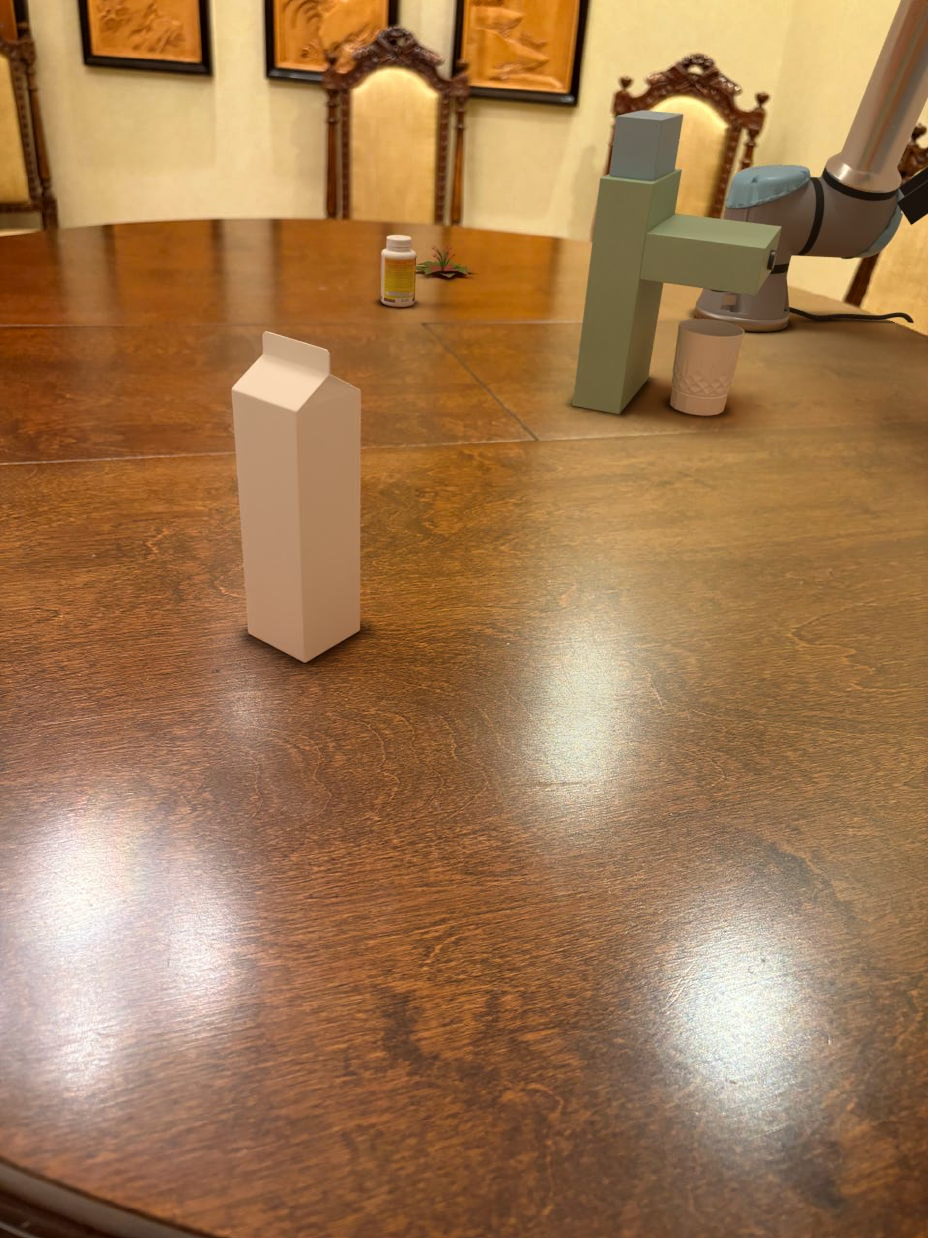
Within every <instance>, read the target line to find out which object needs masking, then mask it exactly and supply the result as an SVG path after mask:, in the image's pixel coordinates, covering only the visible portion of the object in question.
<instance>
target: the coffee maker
mask: <svg viewBox="0 0 928 1238" xmlns="http://www.w3.org/2000/svg"><path fill="white" fill-rule="evenodd" d="M615 118H616V119H615V125H614V126H615V127H614V134H613V136H614V137H613V143H612V149H611V150H612V152H611V159H610V167H609V174H606V175H604V176H601V177H600V178H599V182H598V183H599V184H598V192H597V201H596V209H595V218H594V224H593V233H592V241H591V250H590V259H589V266H588V274H587V284H586V293H585V299H584V307H583V316H582V324H581V331H580V332H581V333H580V340H579V347H578V348H579V349H578V355H577V357H578V358H577V363H576V374H575V382H574V389H573V398H572V406H573V407H579V408H583V409H588V410H593V411H594V410H595V411H598V412H599V411H600V412H605V413H610V414H616V415H620V414H621V413H622V412H623V410H624V409H625V408H626V407H627V405H628V404H629V403H630V402H631V400H632V399H633V398H634V397H635V395H636V394H637V393H638V392H639V390H640V389H641V388H642V387H643V385H645V383H646V382H647V381H648V380H649V375H650V369H651V363H652V357H653V350H654V345H655V337H656V333H657V326H658V321H659V320H658V319H659V313H660V307H661V301H662V295H663V288H664V284H668V285H669V284H671V285H677V286H683V287H692V288H696V289H697V288H698V289H703V288H704V289H709V290H711V291H715V292H731V293H738V294H745V295H752V296H756V294H757V292H758V291H759V289H760V288H761V286H762V285H763V283H764V282H765V280H766V279H767V277H768V275H769V274H770V272H771V271H772V270H773V267H774V264H775V260H776V255H777V247H778V242H779V238H780V233H781V228H782V227H781V226H773V225H765V224H757V223H749V222H741V221H733V220H725V219H723V218H715V217H709V216H699V215H691V214H683V213H677V212H676V209H677V203H678V197H679V191H680V185H681V184H680V183H681V177H682V173H683V172H682V171H683V169H682V168H676V164H677V159H678V151H679V146H680V140H681V139H680V138H681V134H682V127H683V121H684V114H683V113H675V112H663V111H654V110H643V109H641V110H637V111H632V112H629V113H624V114H620V115H617V116H616V117H615Z"/></svg>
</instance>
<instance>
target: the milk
mask: <svg viewBox="0 0 928 1238" xmlns="http://www.w3.org/2000/svg"><path fill="white" fill-rule="evenodd" d="M231 402H232V417H233V418H232V419H233V433H234V447H235V448H234V449H235V460H236V461H235V463H236V475H237V476H236V478H237V490H238V504H239V516H240V517H239V518H240V519H239V520H240V534H241V549H242V561H243V577H244V579H243V580H244V591H245V592H244V593H245V607H246V620H247V621H246V622H247V632H248V634H249V635H251V636H252V637H255V638H256V639H258V640H260V641H262V642H264V643H266V644H268V645H270V646H272V647H273V648H276V649H277V650H279V651H281V652H283V653H285V654H287V655H289V656H290V657H292V658H295V659H296V660H299V661H301V662H302V663H307V662H309V661H311V660H313V659H315V658H317V656H319V655H321V654H323V653H324V652H326V651H328V650H330V649H331V648H333V647H334V646H337V645H338V644H340V643H342V641H345V640H346V639H348V638H350V637H352V636H353V635H355V634H356V633H358V632H360V630H361V493H362V492H361V488H362V487H361V486H362V485H361V484H362V483H361V481H362V480H361V479H362V478H361V474H362V473H361V471H362V470H361V469H362V467H361V464H362V462H361V460H362V459H361V458H362V455H361V454H362V453H361V451H362V447H361V446H362V443H361V441H362V419H361V418H362V390H361V389H360V388H358V387H357V386H354V385H352V384H351V383H348V382H347V381H345V380H344V379H341V378H339V377H337V376H335V375H333V374H331V354H330V351H329V350H328V349H327V348H323V347H320V346H317V345H314V344H310V343H307V342H303V341H301V340H297V339H293V338H290V337H287V336H284V335H280V334H277V333H274V332H270V331H263V333H262V354H261V355H260V356H259V357H258V359H256V361H255V362H254V363H253V364H252V365H251V366H250V367H249V368H248V370H246V371H245V373H244V374H243V375H242V376H241V377H240V378H239V379H238V381H237V382H235V384H234V385H233V386H232V387H231Z"/></svg>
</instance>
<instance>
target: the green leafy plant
mask: <svg viewBox="0 0 928 1238" xmlns="http://www.w3.org/2000/svg"><path fill="white" fill-rule="evenodd" d="M431 249H432V250H433V251H435V252H436V253H437V254H436V253H434V254H432V257H433V258H436V259H437V261H436V260H435V261H429V260H427V261H423V262H420V263H417V265H418V266H417V265H416V271H424V276H426V275H428V274H429V275H430V274H432V273H436V274H438V275H443V276H445V277H447V278H451V277H452V276H454V275H456V273H461V274H463V275H466V276H470V274H469V273H468V271H473V270H476V269H475V268H472V267H468V266H460V265H461V264H460V263H458V264H457V263H454V262H450V261H451V259H453V258H454V257H455V256H456V254H455V253H454V254H452V255H451V256H450V257H449V255H450V254H451V252H450V251H451V250H452V249H453V247H450V248H449V246H447V247H446V249H445V250H444V253H443V254H442V253H441V251H440V250H439V249H438V248H437V246H435V245H433V246H431ZM448 257H449V259H448Z"/></svg>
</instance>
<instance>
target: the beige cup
mask: <svg viewBox="0 0 928 1238" xmlns="http://www.w3.org/2000/svg"><path fill="white" fill-rule="evenodd" d="M745 332H746V331H744V329H742V328H741V327H739V326H737V325H734V324H731V323H728V322H723V321H718V320H710V319H698V318H689V319H684V320H682V321H680V322H679V323H678V327H677V335H676V342H675V349H674V359H673V367H672V377H671V384H672V386H671V394H670V401H669V403H670V404H669V406H671V407H672V408H673V409H675V410H676V411H679V412H680V413H681V412H682V413H684V414H689V415H693V416H701V417H704V416H706V417H709V416H716V415H719V414H721V413H723V412H724V410H725V407H726V403H727V398H728V394H729V391H730V389H731V387H732V382H733V379H734V376H735V371H736V369H737V365H738V360H739V356H740V352H741V349H742V344H743V341H744V336H745Z"/></svg>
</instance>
